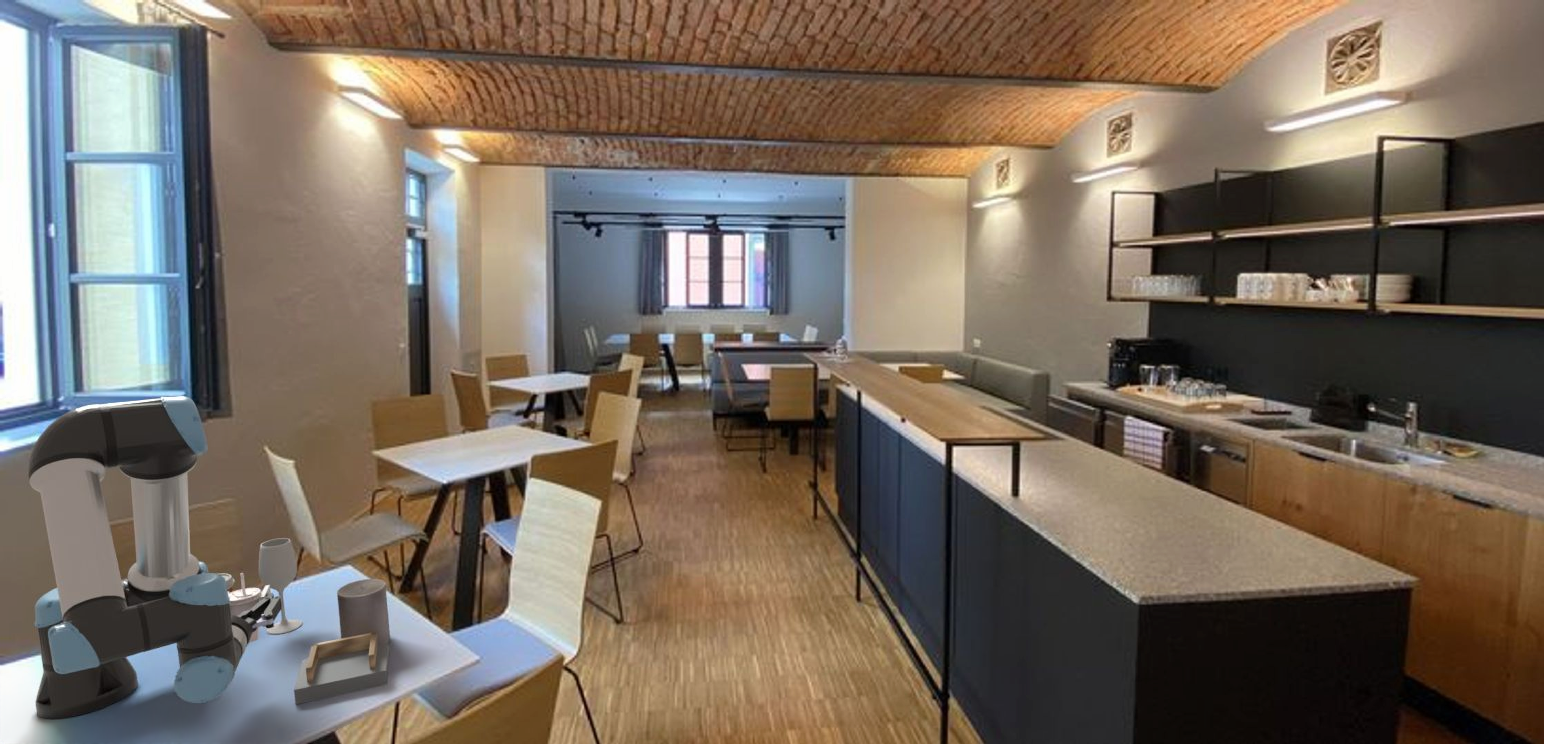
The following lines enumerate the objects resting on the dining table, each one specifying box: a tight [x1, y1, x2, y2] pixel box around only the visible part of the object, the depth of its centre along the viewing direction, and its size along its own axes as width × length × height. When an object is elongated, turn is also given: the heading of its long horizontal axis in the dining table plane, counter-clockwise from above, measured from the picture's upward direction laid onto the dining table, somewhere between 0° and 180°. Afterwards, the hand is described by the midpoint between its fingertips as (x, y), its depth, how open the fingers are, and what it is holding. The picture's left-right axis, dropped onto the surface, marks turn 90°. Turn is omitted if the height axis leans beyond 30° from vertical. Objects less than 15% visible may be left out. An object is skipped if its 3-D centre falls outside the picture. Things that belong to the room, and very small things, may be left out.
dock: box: [293, 643, 390, 705], centre depth 157 cm, size 16×13×3 cm
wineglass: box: [258, 537, 303, 635], centre depth 180 cm, size 8×8×21 cm
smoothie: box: [228, 572, 262, 644], centre depth 152 cm, size 6×6×14 cm
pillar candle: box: [336, 578, 391, 645], centre depth 171 cm, size 10×10×15 cm
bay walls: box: [306, 632, 378, 682], centre depth 158 cm, size 12×11×3 cm
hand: (248, 594), depth 156 cm, fingers closed on smoothie, 6 cm apart
